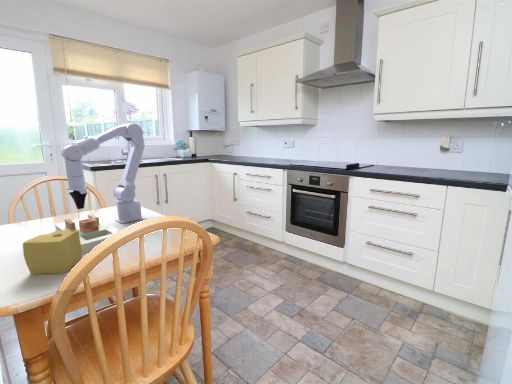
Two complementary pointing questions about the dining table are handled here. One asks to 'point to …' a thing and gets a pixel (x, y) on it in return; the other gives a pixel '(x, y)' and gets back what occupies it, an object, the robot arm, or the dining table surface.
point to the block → (88, 225)
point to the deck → (90, 238)
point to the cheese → (52, 252)
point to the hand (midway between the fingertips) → (80, 208)
